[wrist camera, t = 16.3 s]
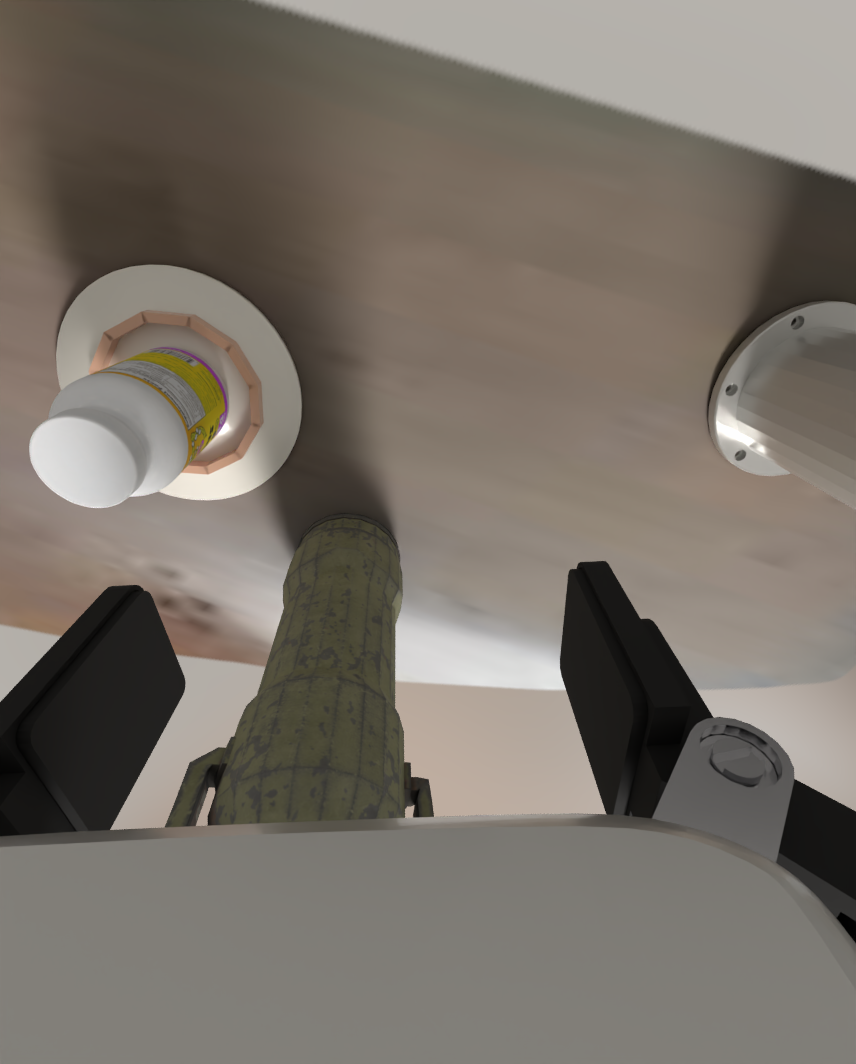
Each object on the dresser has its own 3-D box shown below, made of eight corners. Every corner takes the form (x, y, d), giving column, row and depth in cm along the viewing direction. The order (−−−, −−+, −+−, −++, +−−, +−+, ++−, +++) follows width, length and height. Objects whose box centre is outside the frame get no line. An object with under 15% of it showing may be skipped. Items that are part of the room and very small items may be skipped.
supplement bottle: (176, 456, 37) (80, 547, 26) (109, 373, 34) (-33, 435, 23) (252, 415, 36) (186, 491, 24) (191, 325, 32) (83, 366, 21)
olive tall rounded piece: (277, 504, 40) (-110, 1339, 9) (424, 520, 41) (502, 1288, 11) (277, 594, 44) (11, 1367, 14) (410, 605, 45) (438, 1328, 15)
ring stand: (299, 279, 32) (295, 280, 31) (304, 503, 40) (301, 512, 38) (31, 250, 30) (14, 250, 29) (91, 489, 38) (79, 498, 37)
